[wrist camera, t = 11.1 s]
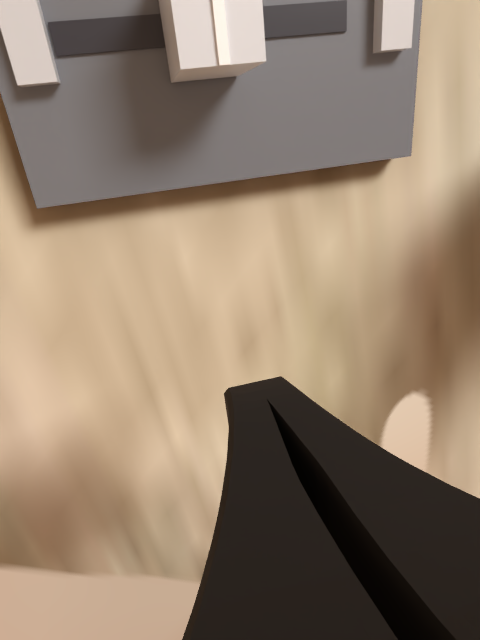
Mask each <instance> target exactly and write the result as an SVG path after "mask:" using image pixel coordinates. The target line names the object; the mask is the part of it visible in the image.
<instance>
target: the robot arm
mask: <svg viewBox="0 0 480 640" xmlns="http://www.w3.org/2000/svg"><path fill="white" fill-rule="evenodd" d="M224 397H225V403H226V410H227V417H228V423H229V436H228V452H227V463H226V469H225V476H224V483H223V490H222V496H221V502H220V507H219V512H218V517H217V522H216V526H215V530H214V535H213V539H212V543H211V547H210V551H209V554H208V558H207V562H206V565H205V569H204V573H203V576H202V580H201V584H200V587H199V590H198V594H197V597H196V600H195V603H194V607H193V610H192V613H191V616H190V619H189V622H188V624H187V627H186V630H185V633H184V636H183V639H182V640H480V499H479V498H477V497H475V496H473V495H470V494H468V493H466V492H464V491H462V490H460V489H458V488H455V487H453V486H451V485H449V484H447V483H445V482H443V481H441V480H439V479H437V478H435V477H434V476H432V475H430V474H428V473H426V472H424V471H422V470H420V469H418V468H416V467H414V466H412V465H410V464H409V463H407V462H405V461H403V460H402V459H399V458H398V457H396V456H394V455H393V454H391V453H389V452H387V451H386V450H385V449H383V448H381V447H380V446H378V445H376V444H375V443H373V442H371V441H370V440H368V439H367V438H365V437H364V436H362V435H361V434H359V433H358V432H356V431H355V430H353V429H352V428H350V427H349V426H347V425H346V424H344V423H343V422H342V421H340V420H339V419H337V418H336V417H334V416H333V415H332V414H330V413H329V412H327V411H326V410H325V409H323V408H322V407H321V406H319V405H318V404H317V403H315V402H314V401H313V400H311V399H310V398H309V397H307V396H306V395H305V394H303V393H302V392H301V391H300V390H298V389H297V388H296V387H294V386H293V385H292V384H291V383H289V382H288V381H287V380H285V379H284V378H282V377H276V378H272V379H267V380H262V381H258V382H253V383H249V384H244V385H240V386H235V387H231V388H228V389H227V390H226V392H225V393H224Z"/></svg>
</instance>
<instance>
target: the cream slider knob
mask: <svg viewBox="0 0 480 640" xmlns="http://www.w3.org/2000/svg"><path fill="white" fill-rule="evenodd" d="M158 1H159V8H160V14H161V20H162V27H163V33H164V40H165V46H166V53H167V59H168V66H169V72H170V79H171V83H173V82H183V81H193V80H204V79H214V78H224V77H234V76H240V75H242V74H243V73H245V72H247V71H249V70H251V69H253V68H255V67H256V66H258V65H260V64H262V63H264V62H266V49H265V34H264V18H263V3H262V0H158Z"/></svg>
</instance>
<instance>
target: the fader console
mask: <svg viewBox="0 0 480 640" xmlns="http://www.w3.org/2000/svg"><path fill="white" fill-rule="evenodd" d="M262 3H263V18H264V34H265V49H266V62H264V63H262V64H260V65H258V66H256V67H255V68H253V69H251V70H249V71H247V72H245V73H243V74H242V75H240V76H234V77H224V78H214V79H204V80H193V81H183V82H173V83H171V79H170V72H169V66H168V59H167V53H166V46H165V40H164V33H163V27H162V20H161V14H160V8H159V1H158V0H0V93H1V96H2V99H3V102H4V106H5V109H6V112H7V115H8V118H9V121H10V125H11V128H12V131H13V134H14V137H15V140H16V144H17V147H18V150H19V153H20V156H21V159H22V163H23V166H24V169H25V172H26V175H27V178H28V182H29V185H30V188H31V191H32V194H33V197H34V201H35V204H36V207H37V208H44V207H52V206H59V205H66V204H73V203H80V202H87V201H94V200H101V199H109V198H116V197H123V196H130V195H137V194H144V193H151V192H158V191H166V190H173V189H180V188H187V187H194V186H201V185H208V184H215V183H223V182H230V181H237V180H244V179H251V178H258V177H265V176H272V175H279V174H287V173H294V172H301V171H308V170H315V169H322V168H329V167H336V166H344V165H351V164H358V163H365V162H372V161H379V160H386V159H393V158H401V157H408V156H411V150H412V137H413V123H414V109H415V95H416V82H417V68H418V54H419V40H420V27H421V13H422V0H262Z"/></svg>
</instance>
